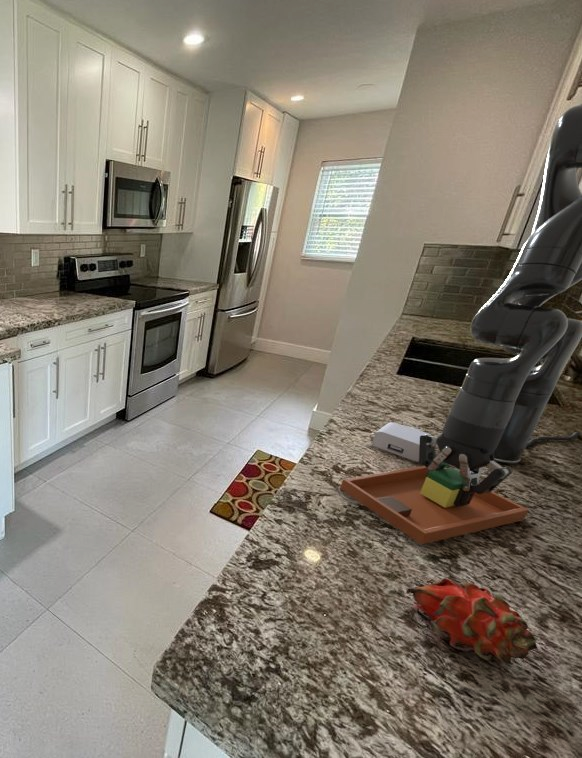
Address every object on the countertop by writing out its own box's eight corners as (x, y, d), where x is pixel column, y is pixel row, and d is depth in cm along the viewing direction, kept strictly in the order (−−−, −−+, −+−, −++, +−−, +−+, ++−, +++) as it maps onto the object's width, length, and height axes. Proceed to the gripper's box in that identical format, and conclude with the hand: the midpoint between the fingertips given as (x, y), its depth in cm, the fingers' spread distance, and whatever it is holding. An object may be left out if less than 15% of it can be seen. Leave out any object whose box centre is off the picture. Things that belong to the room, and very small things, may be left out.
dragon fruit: (527, 692, 48) (399, 632, 57) (536, 621, 51) (413, 575, 60) (541, 676, 43) (398, 613, 52) (549, 599, 46) (414, 552, 55)
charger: (435, 445, 101) (417, 464, 92) (391, 430, 108) (370, 447, 99) (442, 428, 99) (424, 446, 90) (397, 414, 106) (376, 429, 97)
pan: (432, 474, 88) (436, 463, 87) (522, 522, 74) (529, 509, 74) (339, 491, 82) (342, 479, 81) (419, 547, 68) (425, 533, 67)
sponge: (441, 488, 82) (450, 467, 80) (467, 502, 78) (477, 480, 76) (419, 493, 80) (428, 471, 78) (444, 507, 76) (454, 485, 74)
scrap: (388, 502, 78) (390, 495, 77) (409, 516, 74) (412, 509, 74) (372, 505, 77) (374, 498, 76) (393, 519, 73) (395, 512, 72)
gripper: (543, 433, 67) (501, 518, 73) (448, 399, 80) (419, 473, 86) (513, 438, 65) (472, 525, 71) (420, 402, 78) (393, 478, 84)
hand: (443, 496), depth 79 cm, fingers closed on sponge, 4 cm apart
